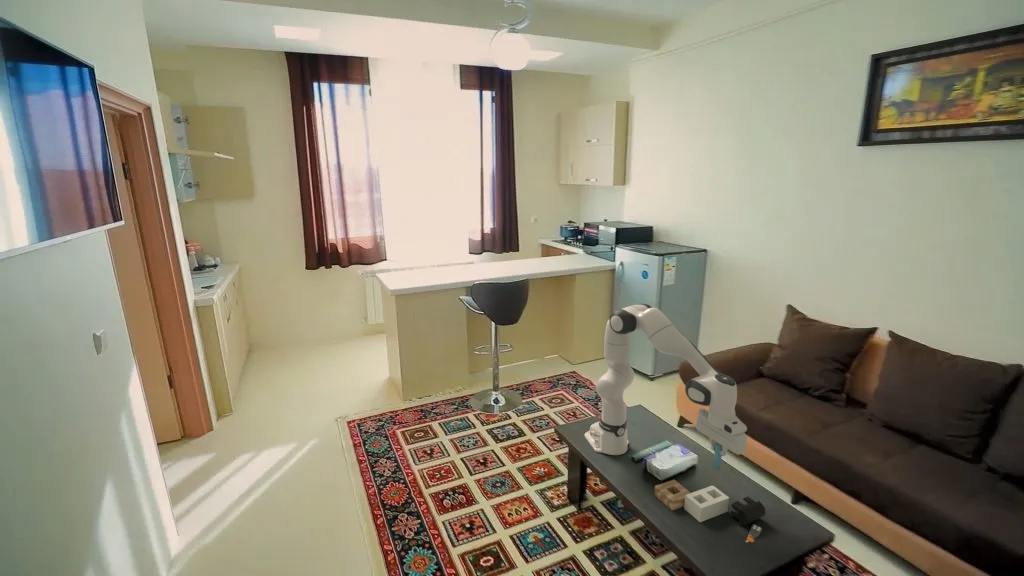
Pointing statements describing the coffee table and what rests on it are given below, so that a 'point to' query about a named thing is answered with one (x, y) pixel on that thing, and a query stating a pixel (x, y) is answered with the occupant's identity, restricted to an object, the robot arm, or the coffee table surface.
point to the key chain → (754, 532)
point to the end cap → (747, 511)
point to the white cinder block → (706, 503)
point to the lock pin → (717, 457)
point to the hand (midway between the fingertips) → (718, 452)
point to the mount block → (671, 494)
